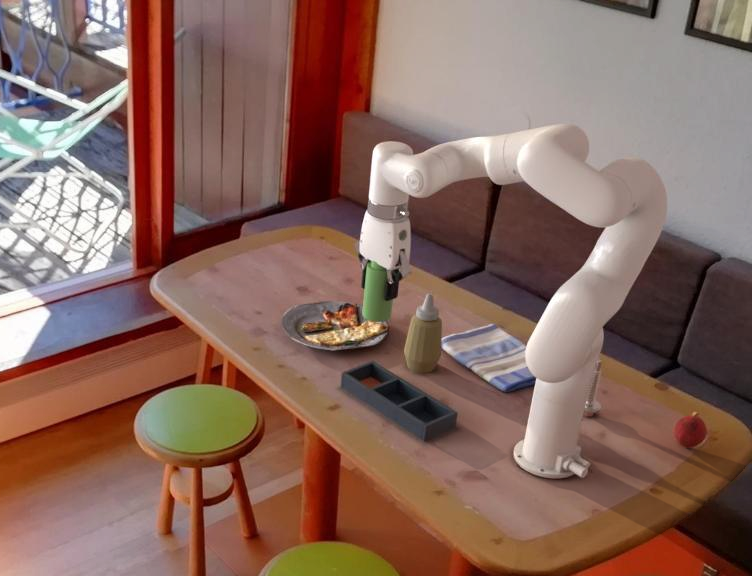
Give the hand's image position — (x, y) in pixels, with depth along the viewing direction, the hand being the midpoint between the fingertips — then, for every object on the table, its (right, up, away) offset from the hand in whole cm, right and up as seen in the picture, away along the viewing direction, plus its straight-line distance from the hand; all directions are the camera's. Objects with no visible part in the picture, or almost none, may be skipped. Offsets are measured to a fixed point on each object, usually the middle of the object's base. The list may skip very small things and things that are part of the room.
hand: (379, 292), depth 210 cm
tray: (+4, -23, +7) cm, 25 cm away
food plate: (-6, -7, +34) cm, 35 cm away
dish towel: (+30, -14, +24) cm, 40 cm away
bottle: (0, -4, +3) cm, 5 cm away
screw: (+44, -25, +7) cm, 50 cm away
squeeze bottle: (+12, -15, +21) cm, 28 cm away
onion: (+60, -31, -3) cm, 67 cm away
